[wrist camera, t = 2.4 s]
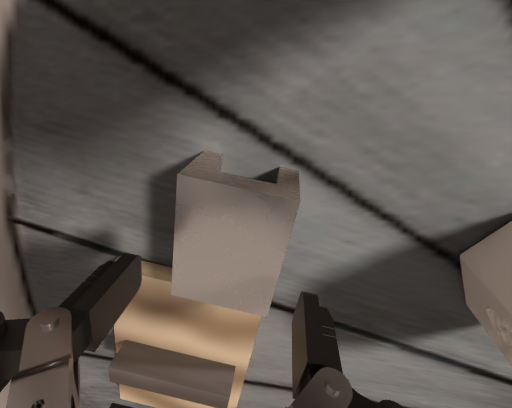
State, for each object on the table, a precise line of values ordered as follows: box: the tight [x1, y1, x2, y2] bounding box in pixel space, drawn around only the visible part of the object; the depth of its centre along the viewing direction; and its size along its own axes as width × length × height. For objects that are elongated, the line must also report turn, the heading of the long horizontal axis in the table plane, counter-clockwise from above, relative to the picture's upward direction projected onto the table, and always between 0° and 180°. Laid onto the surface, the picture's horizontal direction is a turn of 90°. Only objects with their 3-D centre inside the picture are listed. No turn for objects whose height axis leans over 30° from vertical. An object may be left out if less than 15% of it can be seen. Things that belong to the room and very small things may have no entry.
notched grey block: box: [171, 151, 300, 317], centre depth 17 cm, size 6×8×4 cm
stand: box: [108, 256, 262, 408], centre depth 24 cm, size 18×12×4 cm, turn 170°
